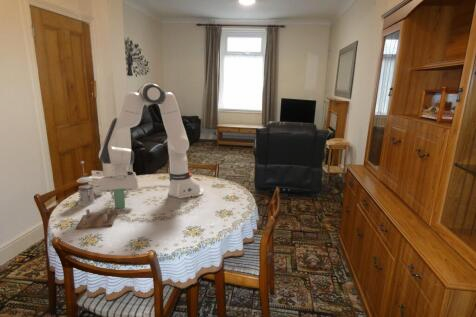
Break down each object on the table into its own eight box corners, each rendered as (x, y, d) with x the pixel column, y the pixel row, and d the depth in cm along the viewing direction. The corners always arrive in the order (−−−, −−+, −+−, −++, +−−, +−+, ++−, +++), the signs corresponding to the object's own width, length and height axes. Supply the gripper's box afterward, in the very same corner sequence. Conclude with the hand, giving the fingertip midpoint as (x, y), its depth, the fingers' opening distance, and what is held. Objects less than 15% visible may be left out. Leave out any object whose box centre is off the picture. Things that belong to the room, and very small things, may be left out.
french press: (93, 197, 175) (88, 158, 169) (100, 203, 168) (95, 162, 161) (75, 201, 169) (70, 160, 162) (81, 208, 161) (76, 165, 154)
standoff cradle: (116, 213, 155) (115, 205, 154) (112, 226, 142) (111, 216, 141) (83, 216, 151) (82, 207, 150) (76, 229, 138) (74, 220, 137)
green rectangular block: (125, 205, 166) (123, 189, 163) (124, 207, 163) (123, 191, 160) (115, 206, 164) (114, 189, 162) (115, 208, 162) (113, 191, 159)
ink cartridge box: (89, 195, 179) (86, 172, 175) (93, 192, 184) (91, 170, 180) (102, 196, 178) (99, 173, 174) (106, 193, 183) (104, 170, 179)
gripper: (99, 174, 163) (97, 196, 156) (137, 172, 168) (137, 194, 161) (101, 179, 168) (100, 201, 162) (138, 177, 173) (138, 198, 167)
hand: (119, 197), depth 161 cm, fingers closed on green rectangular block, 5 cm apart
